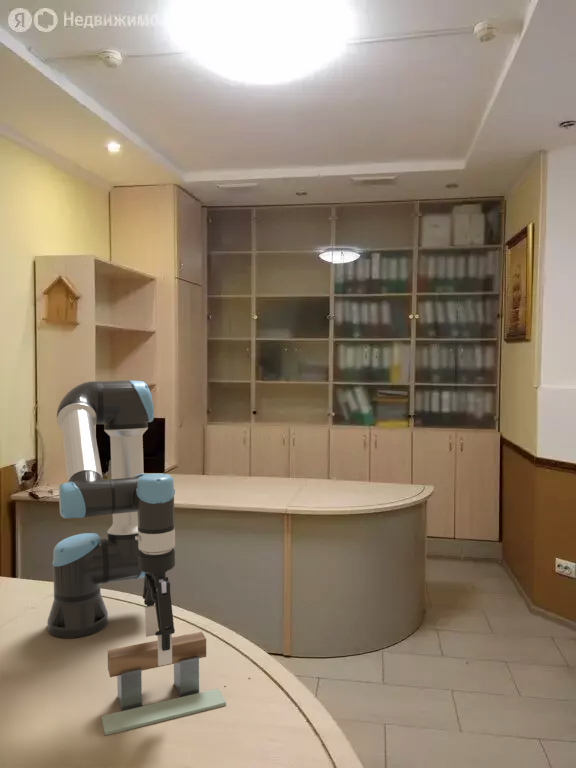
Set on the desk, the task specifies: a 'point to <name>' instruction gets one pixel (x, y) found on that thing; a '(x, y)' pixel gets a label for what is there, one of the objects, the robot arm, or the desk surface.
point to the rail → (154, 653)
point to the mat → (162, 711)
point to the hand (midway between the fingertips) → (158, 648)
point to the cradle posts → (183, 680)
